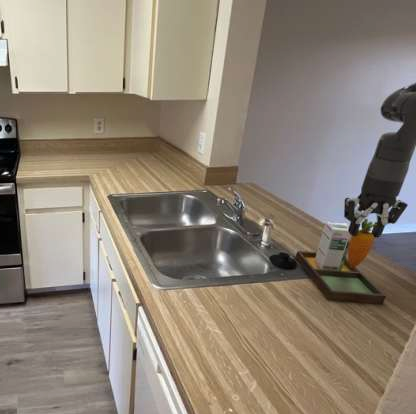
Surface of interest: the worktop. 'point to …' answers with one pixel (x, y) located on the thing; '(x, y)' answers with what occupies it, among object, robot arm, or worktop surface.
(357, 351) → the worktop surface
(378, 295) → the sorting tray
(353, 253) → the carrot
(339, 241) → the syrup box
